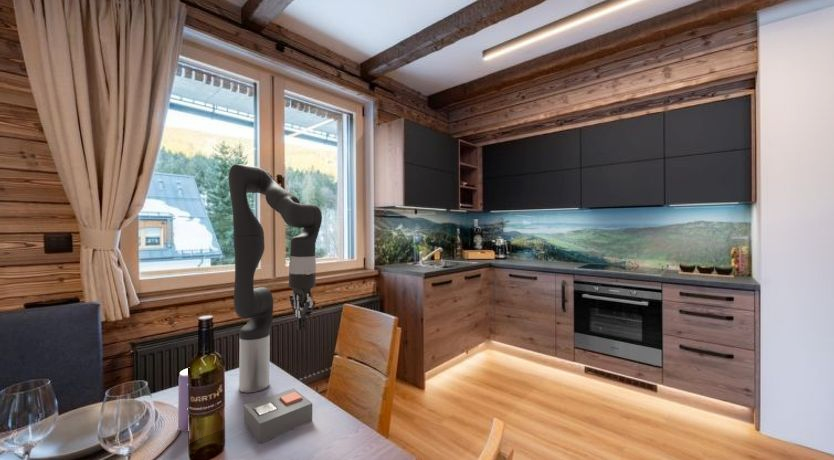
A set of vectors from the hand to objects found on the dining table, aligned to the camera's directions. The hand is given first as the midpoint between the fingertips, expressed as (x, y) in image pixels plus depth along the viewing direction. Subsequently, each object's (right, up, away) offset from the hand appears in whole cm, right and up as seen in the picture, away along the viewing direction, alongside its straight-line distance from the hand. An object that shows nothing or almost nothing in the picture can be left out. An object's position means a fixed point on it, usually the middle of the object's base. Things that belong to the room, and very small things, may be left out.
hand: (301, 329), depth 97 cm
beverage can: (-27, -24, -9) cm, 37 cm away
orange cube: (-2, -23, -4) cm, 23 cm away
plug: (-7, -23, -9) cm, 26 cm away
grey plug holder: (-4, -24, -7) cm, 25 cm away
